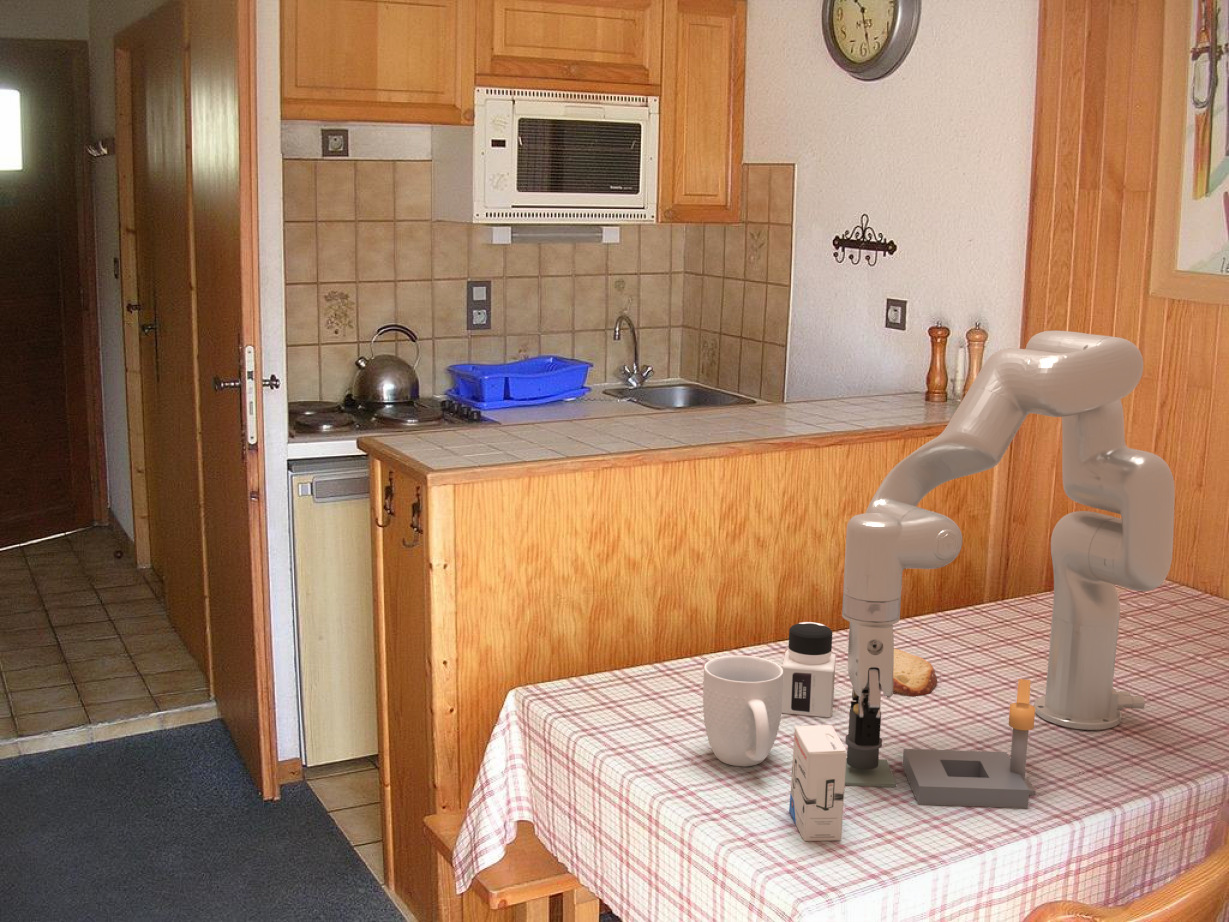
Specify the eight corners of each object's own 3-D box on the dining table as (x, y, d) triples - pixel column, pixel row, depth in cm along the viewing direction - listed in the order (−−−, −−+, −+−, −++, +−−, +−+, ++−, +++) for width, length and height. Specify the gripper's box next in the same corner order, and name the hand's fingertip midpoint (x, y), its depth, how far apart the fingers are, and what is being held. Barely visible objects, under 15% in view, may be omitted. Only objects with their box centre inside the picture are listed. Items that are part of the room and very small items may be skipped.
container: (831, 718, 198) (835, 635, 196) (779, 713, 200) (783, 631, 197) (833, 700, 205) (837, 620, 203) (783, 695, 207) (787, 616, 205)
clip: (1033, 731, 171) (1035, 712, 171) (1008, 728, 172) (1009, 709, 172) (1035, 698, 183) (1036, 680, 183) (1011, 695, 184) (1012, 678, 184)
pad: (886, 762, 182) (886, 759, 182) (896, 787, 175) (896, 784, 175) (828, 760, 183) (828, 757, 183) (835, 784, 175) (835, 782, 175)
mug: (801, 782, 176) (806, 689, 173) (722, 789, 173) (726, 695, 171) (764, 738, 190) (767, 652, 187) (691, 744, 187) (693, 657, 185)
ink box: (788, 810, 167) (791, 723, 165) (826, 809, 168) (830, 722, 166) (803, 842, 159) (807, 751, 157) (843, 841, 159) (848, 750, 157)
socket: (1019, 769, 181) (1024, 711, 179) (1043, 808, 169) (1049, 746, 167) (902, 765, 181) (906, 707, 180) (918, 804, 170) (922, 742, 168)
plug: (877, 756, 181) (881, 701, 179) (883, 771, 176) (886, 715, 174) (842, 755, 181) (845, 700, 179) (846, 770, 176) (849, 713, 175)
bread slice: (857, 650, 230) (858, 629, 230) (958, 670, 221) (959, 649, 220) (815, 679, 215) (816, 657, 215) (922, 702, 206) (923, 680, 205)
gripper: (911, 627, 166) (902, 763, 169) (889, 590, 182) (882, 714, 186) (851, 626, 166) (844, 761, 170) (835, 588, 183) (828, 712, 186)
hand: (864, 735), depth 178 cm, fingers closed on plug, 4 cm apart
